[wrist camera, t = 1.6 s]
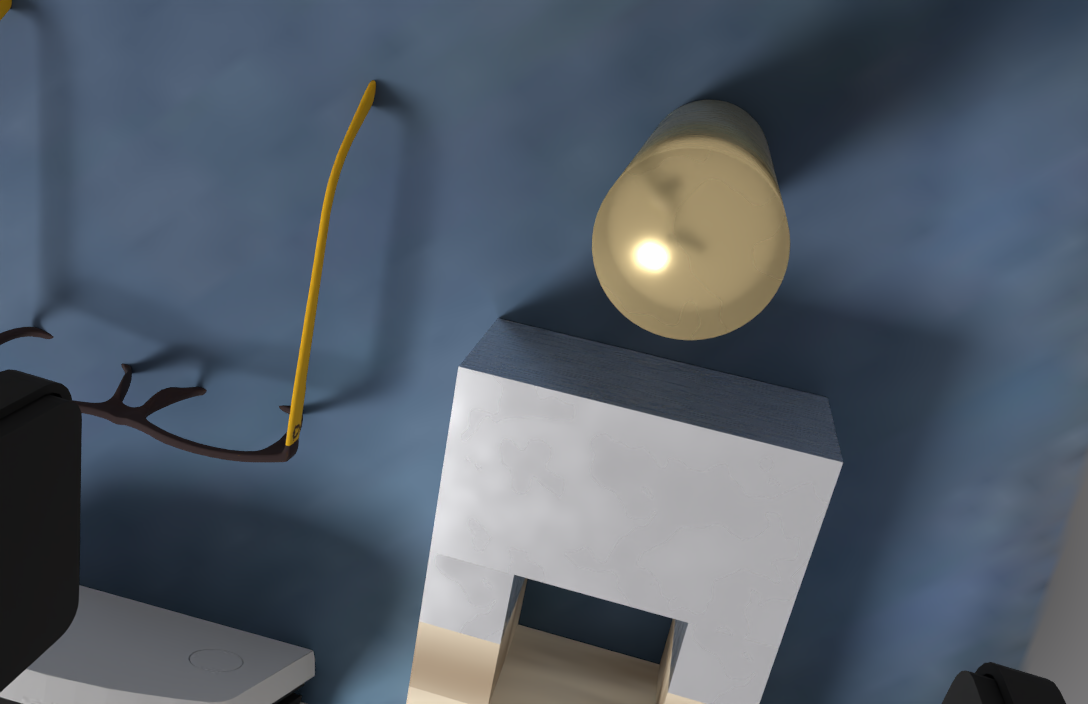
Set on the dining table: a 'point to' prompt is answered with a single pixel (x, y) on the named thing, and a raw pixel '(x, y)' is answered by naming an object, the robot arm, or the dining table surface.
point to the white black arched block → (158, 660)
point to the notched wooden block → (532, 669)
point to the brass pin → (694, 226)
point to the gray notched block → (631, 498)
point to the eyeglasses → (137, 416)
